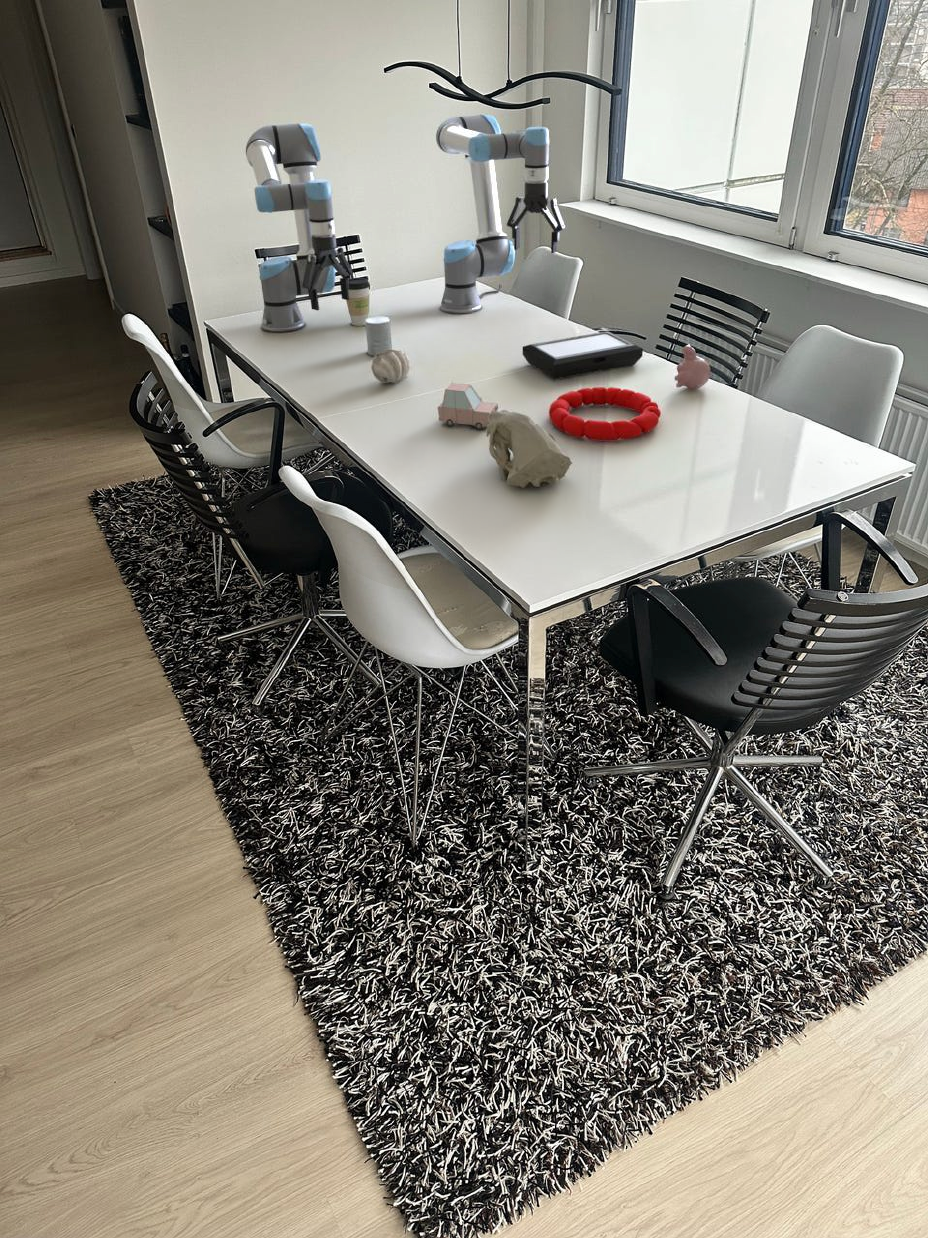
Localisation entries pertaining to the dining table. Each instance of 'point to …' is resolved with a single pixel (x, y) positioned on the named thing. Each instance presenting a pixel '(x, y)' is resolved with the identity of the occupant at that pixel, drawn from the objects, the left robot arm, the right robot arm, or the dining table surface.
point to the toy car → (465, 406)
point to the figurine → (692, 370)
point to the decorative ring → (604, 428)
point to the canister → (378, 334)
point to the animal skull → (525, 450)
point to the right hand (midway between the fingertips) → (535, 250)
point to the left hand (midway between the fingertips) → (330, 304)
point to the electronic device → (582, 354)
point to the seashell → (390, 366)
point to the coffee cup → (358, 300)
